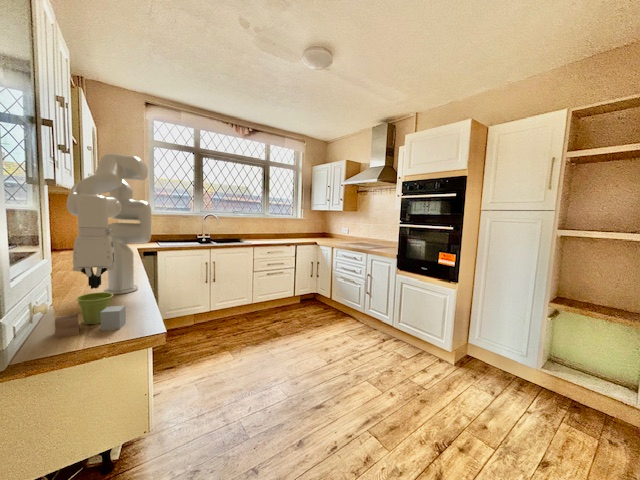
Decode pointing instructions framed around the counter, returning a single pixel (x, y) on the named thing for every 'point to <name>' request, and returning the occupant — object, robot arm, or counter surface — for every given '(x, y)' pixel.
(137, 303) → the counter surface
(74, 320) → the walnut block
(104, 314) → the slate block
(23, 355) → the counter surface
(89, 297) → the plant pot
